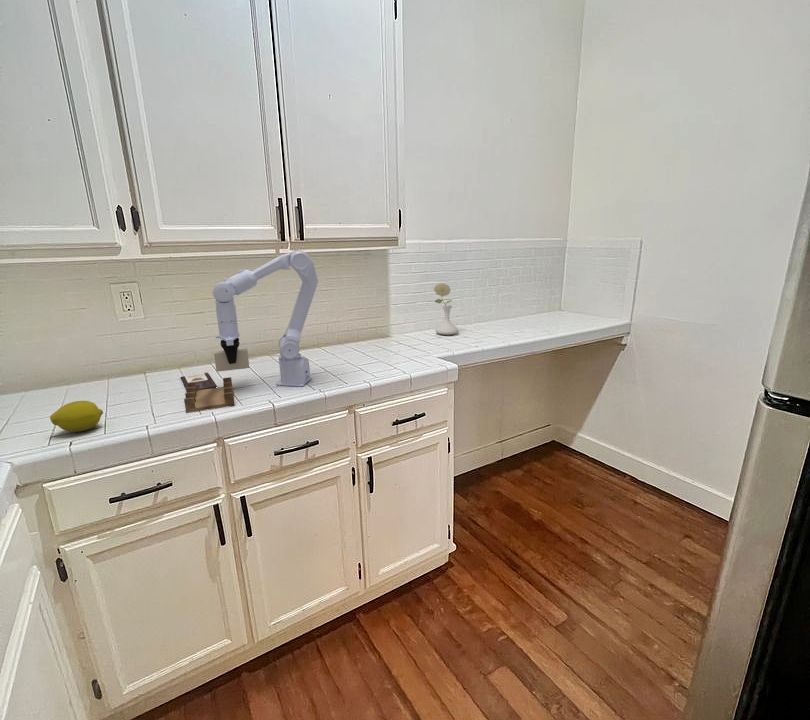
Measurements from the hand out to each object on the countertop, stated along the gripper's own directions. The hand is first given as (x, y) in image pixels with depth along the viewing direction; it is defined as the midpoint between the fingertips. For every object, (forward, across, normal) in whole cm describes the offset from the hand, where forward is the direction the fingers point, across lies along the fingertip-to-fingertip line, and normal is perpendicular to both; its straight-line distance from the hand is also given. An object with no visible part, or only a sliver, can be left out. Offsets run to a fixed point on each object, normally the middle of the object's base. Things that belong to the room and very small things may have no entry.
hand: (232, 362), depth 141 cm
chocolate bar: (+10, -11, -12) cm, 19 cm away
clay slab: (+2, 0, 0) cm, 2 cm away
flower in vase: (+9, -42, +99) cm, 108 cm away
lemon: (+9, +18, -38) cm, 43 cm away
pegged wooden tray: (+9, +8, -7) cm, 14 cm away
